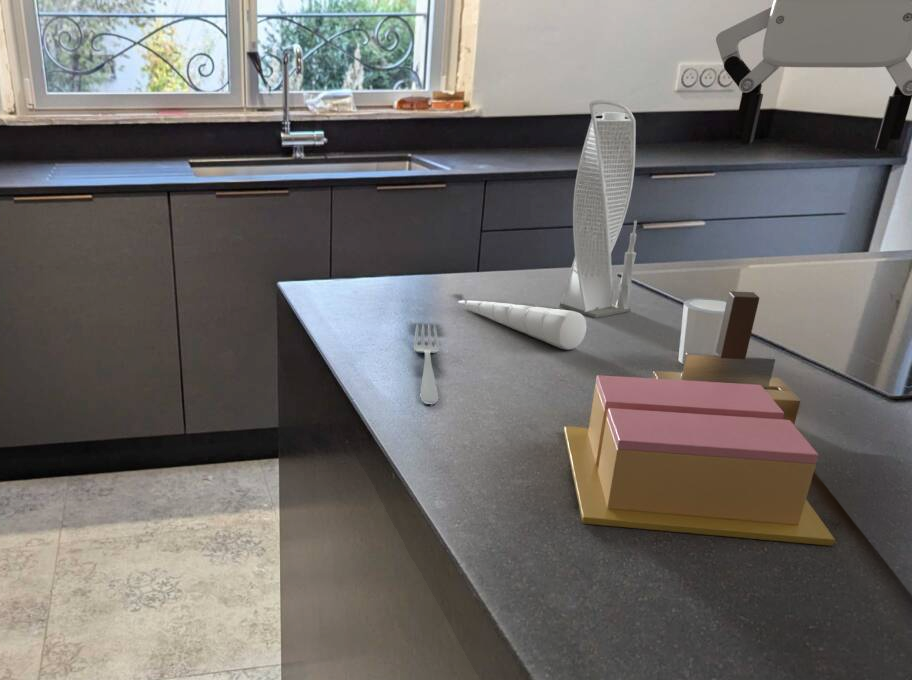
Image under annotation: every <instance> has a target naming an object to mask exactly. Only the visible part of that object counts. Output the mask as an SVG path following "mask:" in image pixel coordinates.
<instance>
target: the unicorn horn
mask: <svg viewBox="0 0 912 680" xmlns="http://www.w3.org/2000/svg"><path fill="white" fill-rule="evenodd" d="M458 304H459V305H460V306H463V307H464V308H466V309H468V310H470V311H472V312H473V313H475V314H478V315H481V316H483V317H485V318H487V319H489V320H491V321H493V322H496V323H498V324H501V325H503V326H505V327H508V328H510V329H513V330H515V331H518V332H520V333H521V334H525V335H527V336H530V337H533V338H535V339H537V340H538V341H539V340H540V341H542V342H544V343H547V344H549V345H551V346H553V347H556V348H558V349H562V350H566V351H570V350H574V349H575V348H577V347H578V346H580V345H581V344H582V342H583V341H584V339H585V336H586V333H587V321H586V317H585V315H584V314H582V313H579V312H576V311H573V310H569V309H558V308H550V307H543V306H541V307H540V306H532V305H525V304H514V303H507V302H506V303H505V302H495V301H486V300H485V301H481V300H458Z"/></svg>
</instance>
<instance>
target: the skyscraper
mask: <svg viewBox="0 0 912 680" xmlns="http://www.w3.org/2000/svg"><path fill="white" fill-rule="evenodd" d="M596 105H608V106H614V107H616V108H620V109H622V110H623V112H622V111H597V112H596V110H595V106H596ZM588 106H589V111H590V115H591V119H590V122H589V125H588V129H587V133H586V135H585V139H584V143H583V147H582V150H581V154H580V158H579V161H578V162H579V163H578V166H577V172H576V177H575V182H574V183H575V184H574V190H573V200H572V201H573V202H572V234H573V235H572V236H573V246H574V254H575V255H574V257H573V261H572V265H571V267H570V270H569V274H568V277H567V280H566V283H565V286H564V290H563V293H562V296H561V299H560V302H559V307H560V308H562V309H565V310H568V311H574V312H578V313H581V314H582V315H584V316H588V317H591V318H595V319H597V318H602V317H608V316H613V315H617V314H622V313H623V314H624V313H628V312H631V311H632V308H631V307H629V300H630V299H629V298H630V294H631V291H632V287H633V283H632V279H633V278H632V277H633V270H634V266H635V261H636V257H637V252H635V244H636V240H637V235H638V234H637V233H636V229H637V224H638V220H634V221H633V228H632V232H630V235H629V243H628V245H629V246H628V249H627V251H625V252H624V257H623V267H622V274H621V277H620V281H619V282H618V288H617V289H618V290H617V300H616V303H615V302H614V290H613V267H612V265H613V264H612V252H613V249H614V248H615V245H616V243H617V240H618V238H619V235H620V233H621V230H622V227H623V225H624V221H625V218H626V215H627V212H628V208H629V204H630V201H631V196H632V190H633V186H634V185H633V184H634V176H635V168H636V166H635V165H636V135H637V133H636V125H637V124H636V118H635V116H634V115H633V113H632V111H631V110H630V109H629V107H627V106H626V105H625V104H623V103H620V102H618V101H614V100H609V99H608V100H607V99H598V100H594V101H591V102H590V103H589V104H588ZM600 116H602V118H600ZM597 117H599V118H597Z"/></svg>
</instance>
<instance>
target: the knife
mask: <svg viewBox="0 0 912 680" xmlns="http://www.w3.org/2000/svg"><path fill="white" fill-rule="evenodd" d="M726 300H727V303H726V307H725V312H724V316H723V321H722V326H721V330H720V335H719V340H718V344H717V349H716V352H717V354H718V355H716V354H698V353H686V355H685V360H684V364H682V370H681V372H682V375H681V380H687V381H704V382H720V383H737V384H754V385H761V386H762V387H763V388H764V389H767V390H768V388H769V384H770V380H771V378H772V375H773V372H774V367H775V364H776V358H775V357H771V356H770V357H768V356H752V355H751V356H750V355H747V353H748V349H749V345H750V341H751V336H752V332H753V327H754V323H755V319H756V316H757V311H758V307H759V303H760V296H759V295H757V294H756V293H755V292H753V291H735V290H734V291H733V290H730V291H728V293H727V298H726Z"/></svg>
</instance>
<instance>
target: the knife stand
mask: <svg viewBox="0 0 912 680" xmlns="http://www.w3.org/2000/svg"><path fill="white" fill-rule="evenodd" d="M681 375H682V371H681V372H679V371H664V370H653V372H652V376H651V378H653V379H670V380H681ZM765 391H766V392H767V393H768V394H769V395H770V397H771V398H772V399H773V400H774V401H775V403H776V404H777V405H778V406H779V407H780V409H781V410H782V411H783V412H784V416H783V420H790V421H791V422H792V423H793V424H794V425H795V423H796V420H797V417H798V413H799V410H800V405H801V403H802V402H801V399H800V398H799V397H798V396H797V395H796V394H795V392H793V390H792V389H791V388H790V387H789V386H788V385H787V384H786V383H785V382H784V381H783V379H782V378H780V377H771V380H770V384H769V388H768V390H767V389H765Z"/></svg>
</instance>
